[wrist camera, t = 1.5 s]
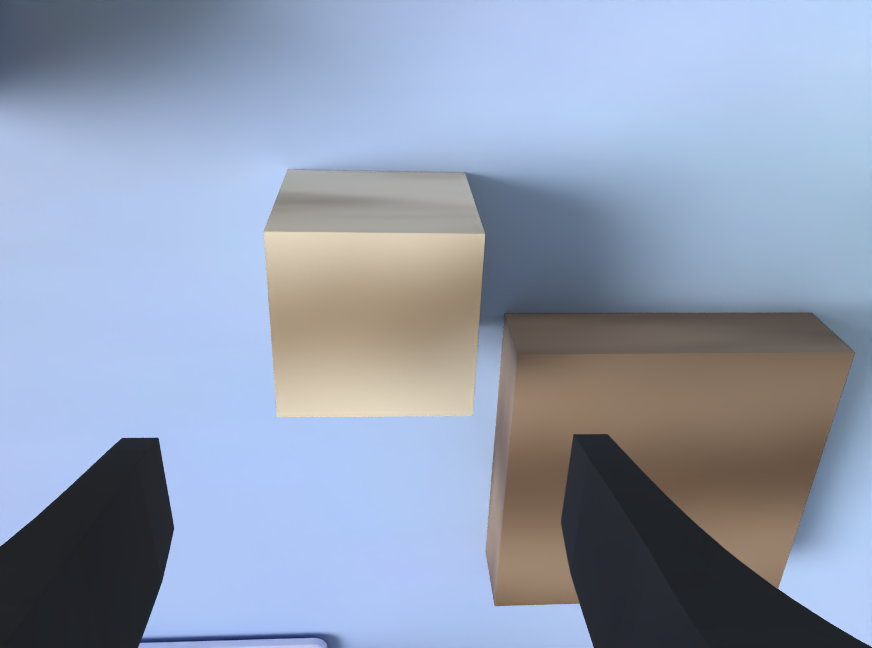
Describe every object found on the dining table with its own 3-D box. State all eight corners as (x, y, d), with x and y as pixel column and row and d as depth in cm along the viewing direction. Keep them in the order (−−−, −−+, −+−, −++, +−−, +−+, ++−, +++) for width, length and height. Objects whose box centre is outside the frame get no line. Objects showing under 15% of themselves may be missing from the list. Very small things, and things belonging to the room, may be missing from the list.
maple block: (456, 326, 24) (472, 416, 20) (296, 325, 24) (277, 416, 19) (464, 171, 22) (485, 233, 18) (287, 168, 22) (263, 231, 17)
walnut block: (740, 537, 30) (775, 597, 27) (484, 543, 29) (494, 605, 26) (805, 306, 25) (855, 352, 23) (502, 307, 24) (517, 354, 22)
